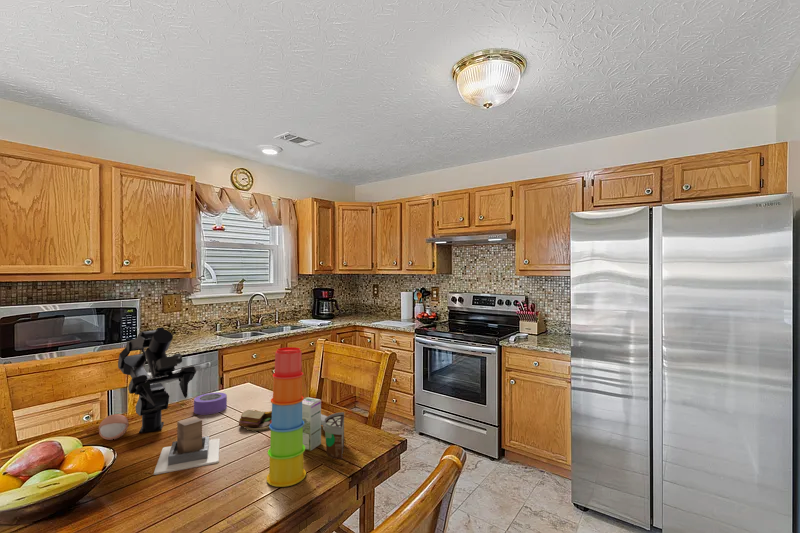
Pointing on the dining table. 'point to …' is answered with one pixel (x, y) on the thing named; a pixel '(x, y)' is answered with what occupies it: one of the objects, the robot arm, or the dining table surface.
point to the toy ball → (113, 426)
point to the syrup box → (311, 422)
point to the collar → (188, 453)
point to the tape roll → (210, 403)
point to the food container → (334, 435)
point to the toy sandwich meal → (255, 420)
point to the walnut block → (189, 435)
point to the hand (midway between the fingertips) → (170, 400)
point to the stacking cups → (287, 420)
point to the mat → (212, 459)
